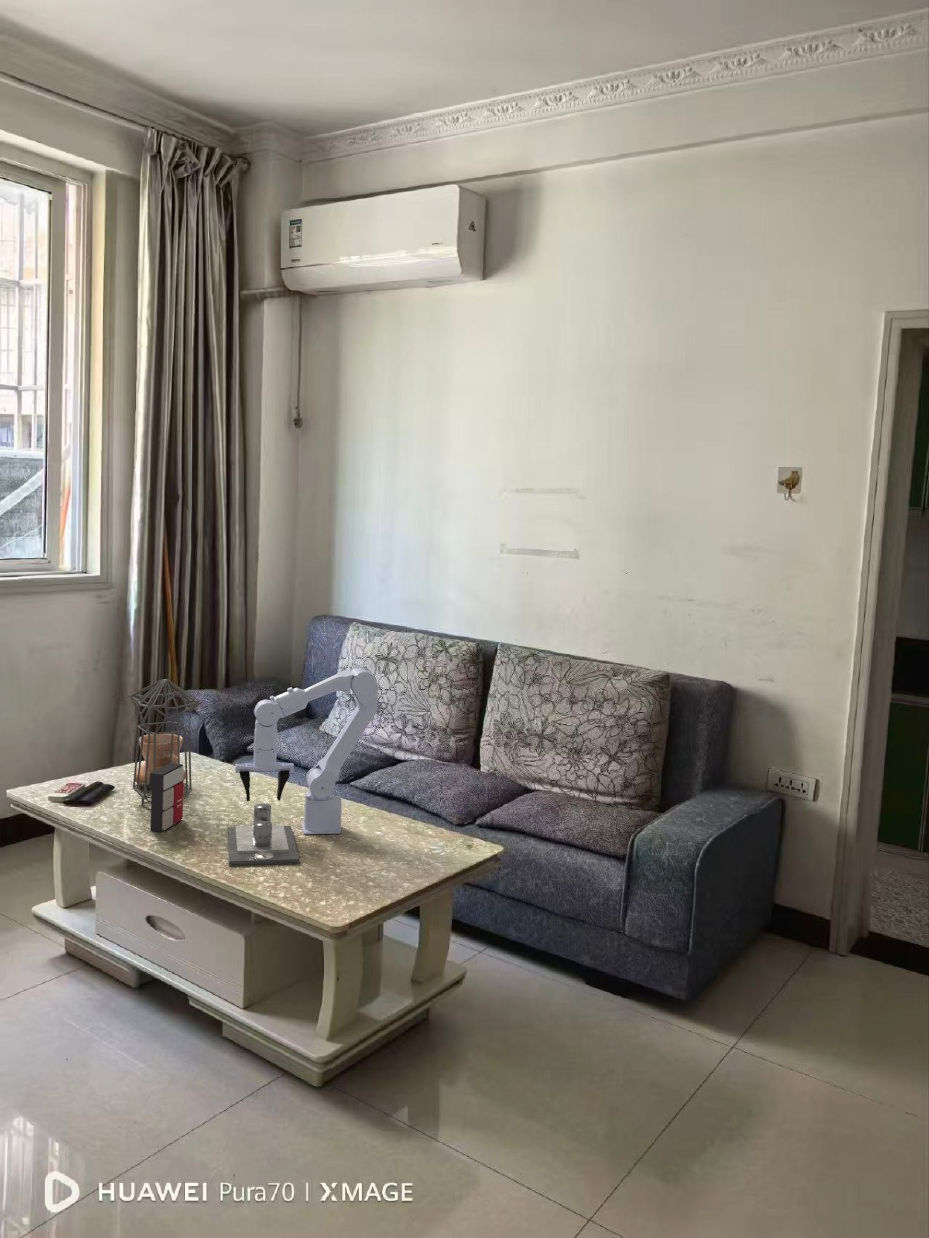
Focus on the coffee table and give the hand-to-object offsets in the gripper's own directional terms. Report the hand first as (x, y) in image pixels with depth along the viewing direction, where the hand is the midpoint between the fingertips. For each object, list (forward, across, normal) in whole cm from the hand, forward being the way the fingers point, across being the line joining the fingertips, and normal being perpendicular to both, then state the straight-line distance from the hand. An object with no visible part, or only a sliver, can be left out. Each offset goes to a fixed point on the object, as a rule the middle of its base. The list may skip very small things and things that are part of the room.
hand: (263, 799), depth 254 cm
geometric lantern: (+9, +25, -23) cm, 35 cm away
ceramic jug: (+9, +26, -42) cm, 50 cm away
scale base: (+8, +1, +12) cm, 14 cm away
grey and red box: (+9, +24, -7) cm, 26 cm away
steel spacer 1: (+8, 0, -5) cm, 10 cm away
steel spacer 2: (+7, +1, +14) cm, 16 cm away
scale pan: (+7, +1, +10) cm, 12 cm away
